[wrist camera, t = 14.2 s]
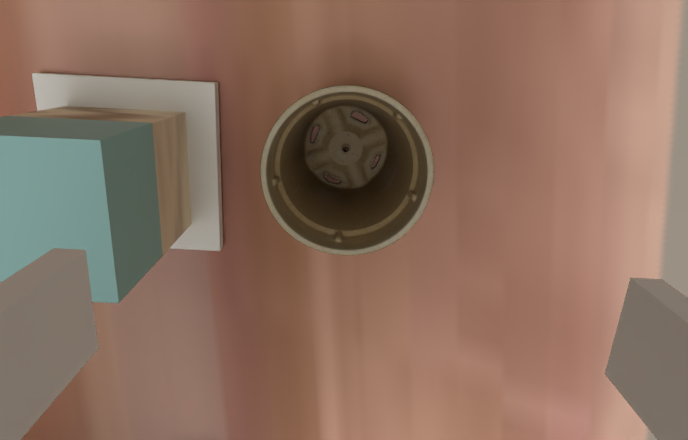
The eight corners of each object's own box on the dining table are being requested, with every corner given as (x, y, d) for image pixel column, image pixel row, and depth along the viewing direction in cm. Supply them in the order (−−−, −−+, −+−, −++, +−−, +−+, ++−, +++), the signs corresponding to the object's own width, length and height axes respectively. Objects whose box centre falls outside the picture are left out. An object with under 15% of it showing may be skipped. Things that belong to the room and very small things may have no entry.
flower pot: (417, 78, 33) (440, 85, 25) (410, 211, 36) (428, 256, 28) (278, 77, 33) (255, 84, 25) (283, 210, 36) (264, 255, 28)
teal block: (30, 249, 29) (-46, 295, 24) (7, 115, 27) (-84, 131, 21) (162, 255, 29) (118, 303, 24) (152, 122, 27) (100, 140, 21)
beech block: (80, 218, 35) (29, 249, 29) (66, 105, 32) (7, 116, 27) (191, 224, 35) (161, 256, 29) (185, 112, 33) (151, 123, 27)
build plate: (64, 238, 37) (57, 243, 36) (41, 72, 33) (31, 73, 32) (223, 246, 37) (220, 250, 36) (218, 82, 33) (214, 83, 32)
